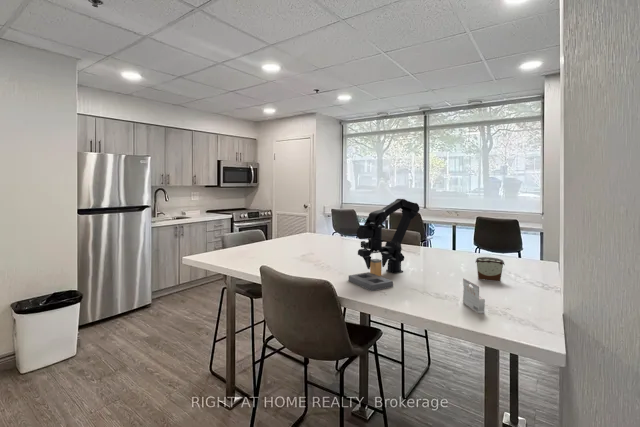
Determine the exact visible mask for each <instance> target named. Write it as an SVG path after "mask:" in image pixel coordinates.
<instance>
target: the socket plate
mask: <svg viewBox="0 0 640 427" xmlns="http://www.w3.org/2000/svg"><path fill="white" fill-rule="evenodd" d="M348 281H349V282H351V283H352V284H355V285H357V286H359V287H361V288H363V289H366V290H368V291H370V292H373V291H378V290H383V289H388V288H389V289H390V288H393V287H394V281H393V280H391V279H389V278H386V277H383V276H378V275H375V274H372V273H370V272H369V271H368V272H362V273H356V274H350V275H348Z"/></svg>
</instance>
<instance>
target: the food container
mask: <svg viewBox="0 0 640 427" xmlns="http://www.w3.org/2000/svg"><path fill="white" fill-rule="evenodd" d="M475 264H476V270H477V272H476V273H477V280H480V281H490V282H498V283H501V280H502V274H503V267H504V266H505V261H504V260H503V259H501V258H497V257H489V256H481V257H477V258H476V259H475Z"/></svg>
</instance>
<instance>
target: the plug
mask: <svg viewBox="0 0 640 427" xmlns="http://www.w3.org/2000/svg"><path fill="white" fill-rule="evenodd" d="M369 271H370V273H372V274H375V275H378V276H380V277H382V259H380V258H371V263H370V269H369Z"/></svg>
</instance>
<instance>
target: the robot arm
mask: <svg viewBox="0 0 640 427" xmlns="http://www.w3.org/2000/svg"><path fill="white" fill-rule="evenodd" d="M399 210H401V218H400V220H399V223H398V224H397V225H398V226H397V227H396V230H395V233H394V234H393V236H392V239H391V240H390V241H388V240H387V241H386V243H385V245H383V242H384V239H383V238H382V237H383V229H384V228H385V229H386V226H385V225H384V223H385V221H387V219H388V217H389V216H390V215H392V214H394V213H395V212H396V211H399ZM419 211H420V206H419V204H418V203H417V202H412V201H409V200H407V199H405V198H397V199H395V200H394V201H392V202H391V203H389V204H388V205H386V206H384V207H383V208H381V209H378V210H374V211H371V212H369V214H368V217H366V218H367V219H366V220H365V222H364V223H363V225H362V224H359V227H358V228H357V230H356V237H357V238H358V239H359V240H363V241H360V249H358V250H357V255H358V256H360V257H362V259H363V260H364V262H365V265H366V268H367V270H370V263H371V259H372V256H371V255H372V254H377V253H380V255H381V260H382V267H383V268H384V267H385V266H386V265H387V269H386V270H385V271H386V272H389V273H391V274H397V273H403V272H404V270H402V262H404V260H405V256H404V254H403V253H402V250H403V249H402V243H403V240H404V237H405V235H406V233H407V230H408V228H409V226H410V224H411V221H412V220H413V219H415V217H416V216H417V215H418V214H419ZM366 239H367V240H368V241H366Z"/></svg>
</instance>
